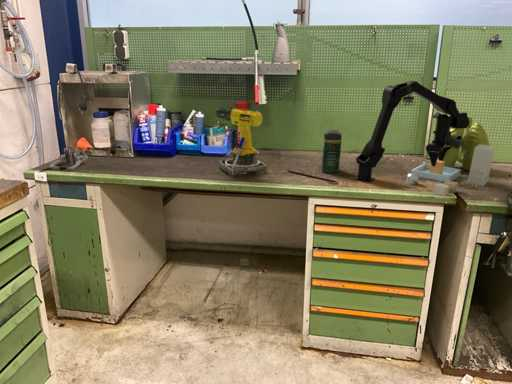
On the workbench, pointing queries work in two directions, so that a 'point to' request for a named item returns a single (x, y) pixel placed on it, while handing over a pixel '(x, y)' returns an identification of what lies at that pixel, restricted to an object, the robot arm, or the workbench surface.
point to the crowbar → (314, 177)
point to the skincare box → (481, 164)
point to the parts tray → (448, 174)
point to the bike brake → (68, 160)
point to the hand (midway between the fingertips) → (437, 164)
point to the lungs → (466, 145)
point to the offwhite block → (441, 189)
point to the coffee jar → (331, 151)
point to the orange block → (437, 167)
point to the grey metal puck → (412, 178)
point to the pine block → (451, 186)
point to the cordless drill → (242, 141)
